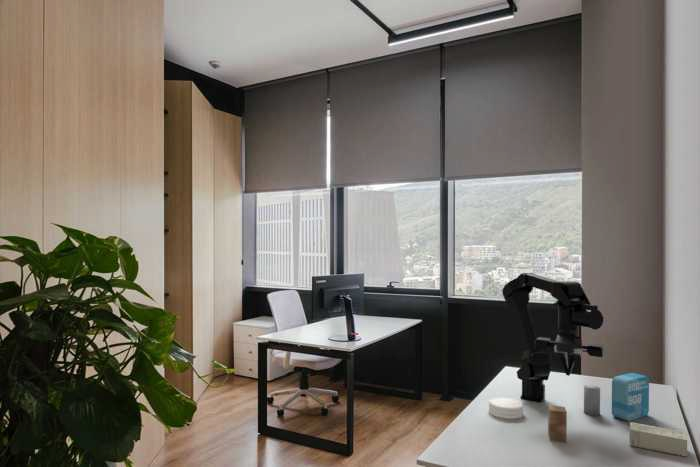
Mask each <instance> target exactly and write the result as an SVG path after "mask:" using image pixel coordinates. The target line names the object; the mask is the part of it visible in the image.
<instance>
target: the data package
mask: <svg viewBox="0 0 700 467" xmlns="http://www.w3.org/2000/svg"><path fill="white" fill-rule="evenodd" d="M649 410H650V379H649V376H647V375H644V374H643V375H642V374H639V373H635V372H629V373H625V374H621V375H616V376H614V377H613V378H612V379H611V415H612V416H613V417H614V418H618V419H620V420H624V421H627V422H630V421H631V422H632V421H634V420H638V419H641V418H643V417H646V416H647V415H649V412H650V411H649Z"/></svg>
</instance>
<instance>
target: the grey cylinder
mask: <svg viewBox="0 0 700 467" xmlns="http://www.w3.org/2000/svg"><path fill="white" fill-rule="evenodd" d="M583 413H584V414H585V415H589V416H592V417H599V416H600V415H601V388H600V386H597V385H593V384H584V386H583Z"/></svg>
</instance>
